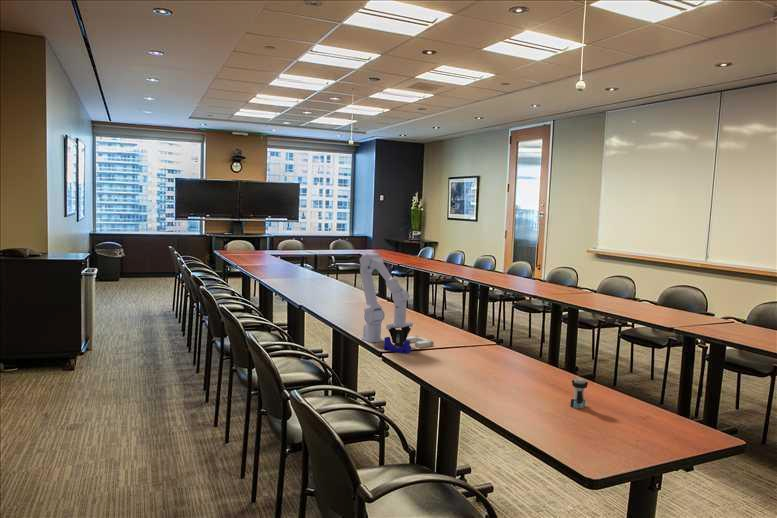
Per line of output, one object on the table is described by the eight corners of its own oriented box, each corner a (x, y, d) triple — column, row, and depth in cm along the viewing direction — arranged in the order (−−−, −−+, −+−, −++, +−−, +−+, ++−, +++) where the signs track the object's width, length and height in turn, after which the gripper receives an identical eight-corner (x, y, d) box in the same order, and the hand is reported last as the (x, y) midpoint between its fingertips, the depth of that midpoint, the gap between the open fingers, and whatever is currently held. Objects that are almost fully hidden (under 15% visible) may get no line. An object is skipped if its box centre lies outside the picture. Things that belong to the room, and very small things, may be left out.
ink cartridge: (394, 345, 270) (394, 329, 270) (398, 344, 272) (398, 328, 271) (399, 347, 266) (400, 331, 266) (403, 347, 268) (404, 330, 267)
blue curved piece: (411, 352, 259) (411, 339, 259) (406, 354, 255) (407, 341, 255) (388, 348, 265) (388, 336, 264) (384, 350, 261) (384, 337, 260)
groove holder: (402, 341, 279) (402, 337, 279) (416, 339, 284) (416, 335, 284) (418, 347, 267) (419, 343, 267) (433, 345, 272) (433, 341, 272)
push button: (581, 403, 197) (583, 376, 196) (592, 408, 192) (594, 380, 191) (566, 405, 195) (568, 377, 194) (577, 410, 190) (579, 382, 189)
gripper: (392, 317, 260) (391, 345, 262) (416, 315, 268) (415, 342, 270) (384, 315, 266) (383, 342, 267) (408, 312, 274) (407, 339, 276)
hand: (399, 342), depth 269 cm, fingers open, 5 cm apart
